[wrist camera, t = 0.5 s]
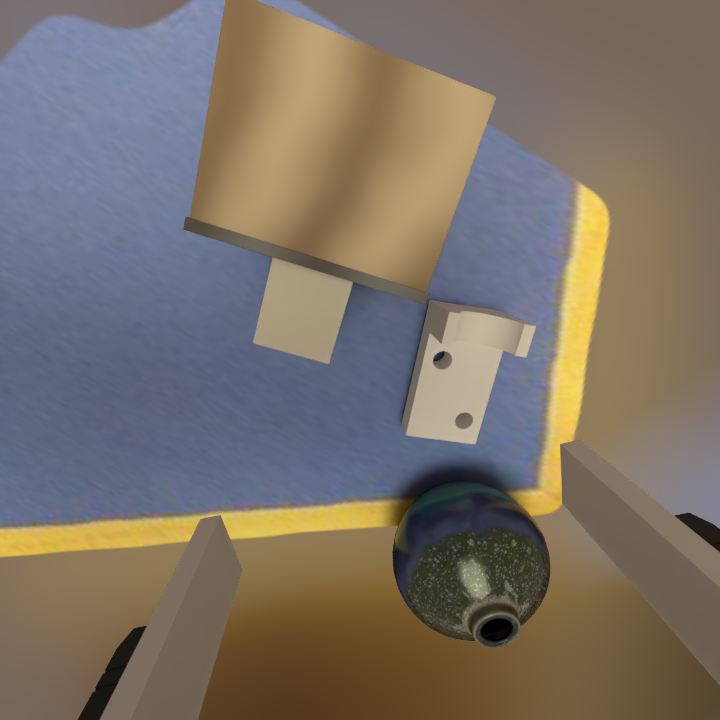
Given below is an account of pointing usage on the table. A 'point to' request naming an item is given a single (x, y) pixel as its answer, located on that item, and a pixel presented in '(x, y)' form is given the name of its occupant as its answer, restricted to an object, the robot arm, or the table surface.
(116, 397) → the table surface
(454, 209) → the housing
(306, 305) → the tan cardboard carton
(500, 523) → the vase
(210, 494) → the table surface
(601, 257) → the table surface
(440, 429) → the bracket
